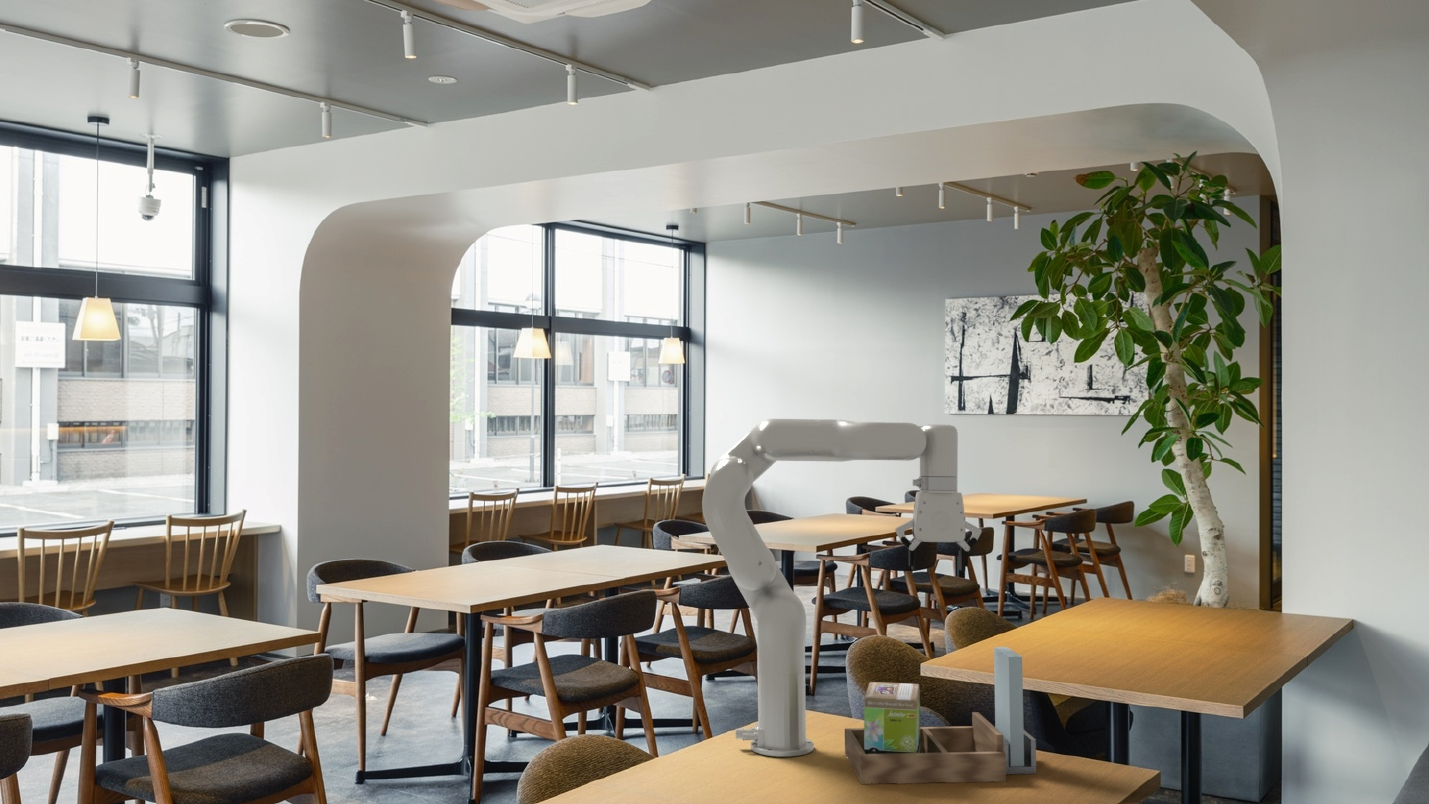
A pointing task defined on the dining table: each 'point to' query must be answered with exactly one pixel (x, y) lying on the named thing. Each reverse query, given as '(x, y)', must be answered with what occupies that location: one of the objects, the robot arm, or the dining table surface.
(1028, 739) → the stand
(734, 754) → the dining table surface
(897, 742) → the tea box
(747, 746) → the dining table surface
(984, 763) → the divided tray
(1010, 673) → the rectangular block
